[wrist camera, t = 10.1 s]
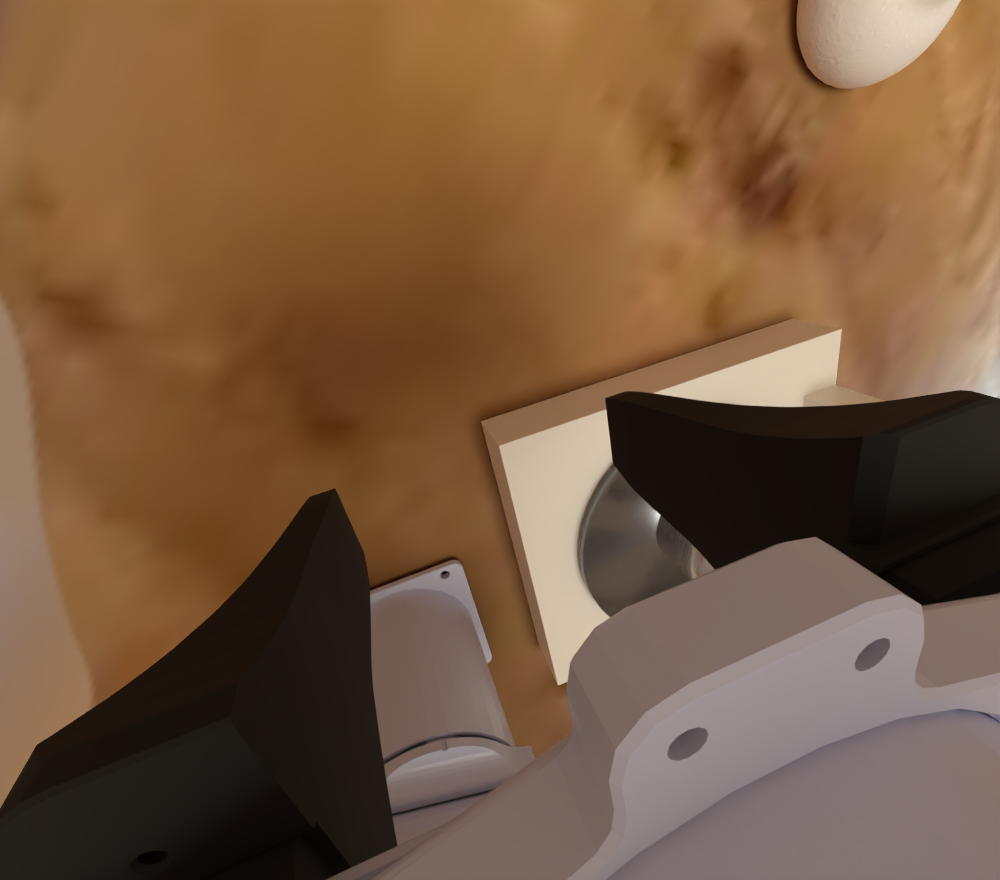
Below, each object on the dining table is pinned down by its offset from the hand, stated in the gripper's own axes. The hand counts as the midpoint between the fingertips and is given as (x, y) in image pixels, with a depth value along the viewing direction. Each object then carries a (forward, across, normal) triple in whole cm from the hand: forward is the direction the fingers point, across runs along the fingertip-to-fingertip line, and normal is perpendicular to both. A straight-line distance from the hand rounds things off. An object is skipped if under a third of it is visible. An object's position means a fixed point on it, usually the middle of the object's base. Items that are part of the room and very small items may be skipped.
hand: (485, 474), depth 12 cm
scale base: (+10, -11, +11) cm, 19 cm away
